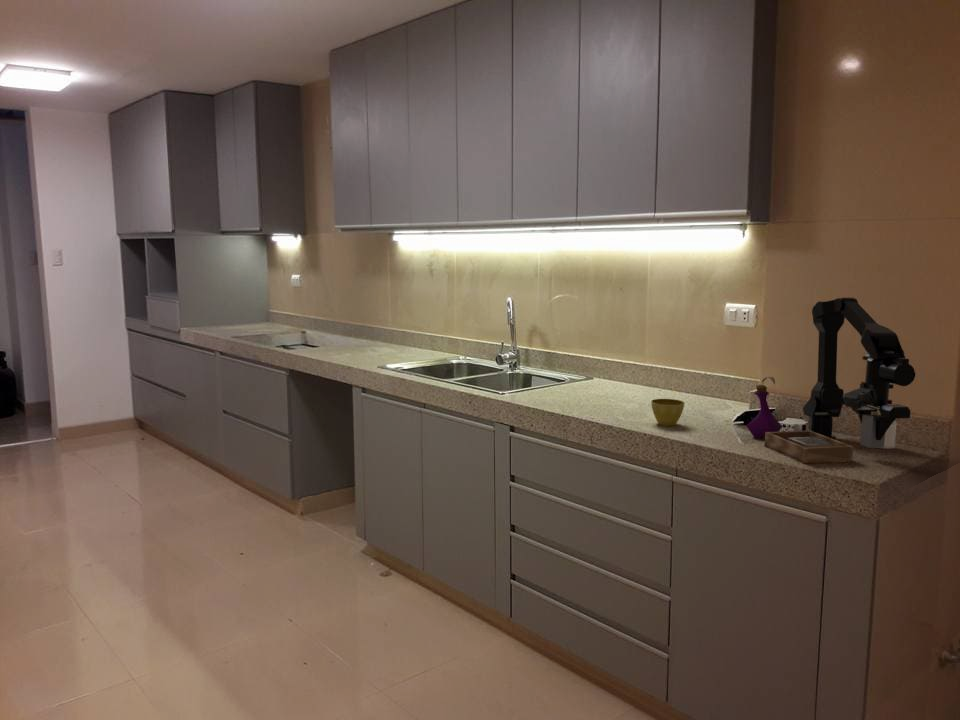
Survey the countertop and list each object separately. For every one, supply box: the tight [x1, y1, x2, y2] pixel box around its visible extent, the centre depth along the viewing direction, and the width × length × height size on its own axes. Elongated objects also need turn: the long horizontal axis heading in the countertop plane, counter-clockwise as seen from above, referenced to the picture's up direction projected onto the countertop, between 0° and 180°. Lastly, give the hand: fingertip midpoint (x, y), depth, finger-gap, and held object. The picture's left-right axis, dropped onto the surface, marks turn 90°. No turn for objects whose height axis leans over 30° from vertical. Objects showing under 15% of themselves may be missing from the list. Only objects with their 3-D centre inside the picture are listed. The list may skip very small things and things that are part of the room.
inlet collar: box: [788, 437, 833, 448], centre depth 207 cm, size 8×8×3 cm
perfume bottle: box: [746, 376, 783, 440], centre depth 225 cm, size 8×8×18 cm
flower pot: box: [650, 398, 685, 427], centre depth 241 cm, size 10×10×7 cm
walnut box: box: [764, 430, 854, 464], centre depth 208 cm, size 18×14×4 cm
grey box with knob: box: [859, 411, 885, 449], centre depth 203 cm, size 4×4×9 cm
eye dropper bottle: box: [880, 420, 898, 450], centre depth 215 cm, size 4×6×12 cm
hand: (872, 438), depth 203 cm, fingers closed on grey box with knob, 4 cm apart
